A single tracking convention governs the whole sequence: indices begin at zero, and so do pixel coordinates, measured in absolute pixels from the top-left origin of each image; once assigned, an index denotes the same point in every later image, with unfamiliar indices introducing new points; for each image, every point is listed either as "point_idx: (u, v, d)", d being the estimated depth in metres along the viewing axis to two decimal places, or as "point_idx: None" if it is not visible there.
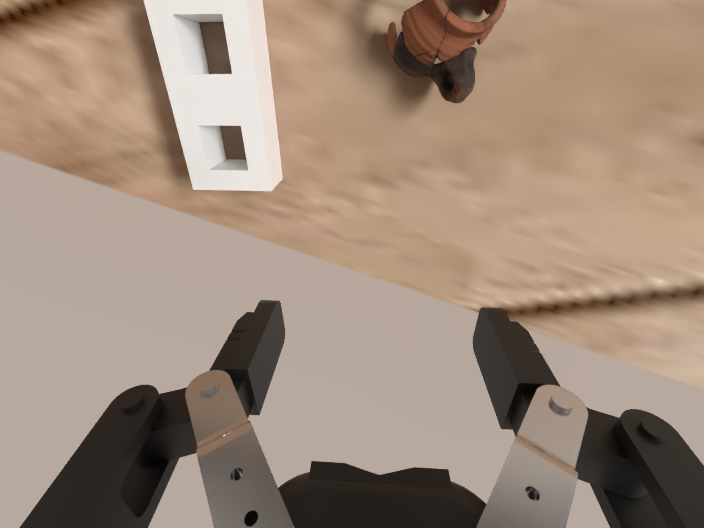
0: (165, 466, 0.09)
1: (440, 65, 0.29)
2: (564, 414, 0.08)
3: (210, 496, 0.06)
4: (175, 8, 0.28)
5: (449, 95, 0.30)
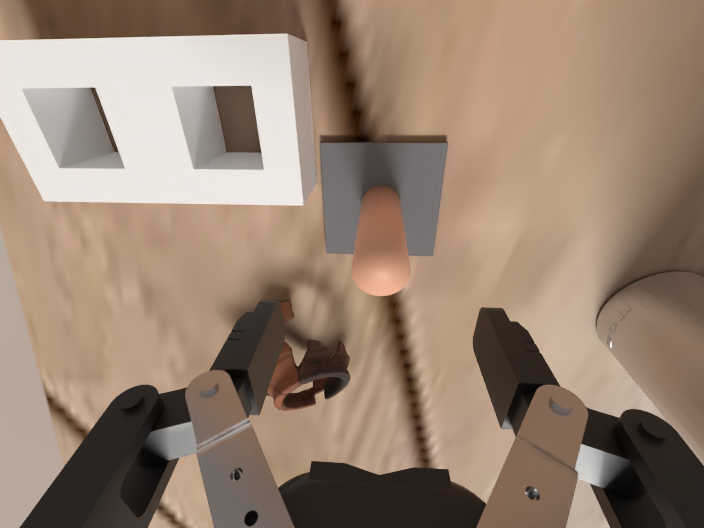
0: (165, 466, 0.09)
1: None
2: (564, 414, 0.08)
3: (210, 496, 0.06)
4: (259, 94, 0.17)
5: None
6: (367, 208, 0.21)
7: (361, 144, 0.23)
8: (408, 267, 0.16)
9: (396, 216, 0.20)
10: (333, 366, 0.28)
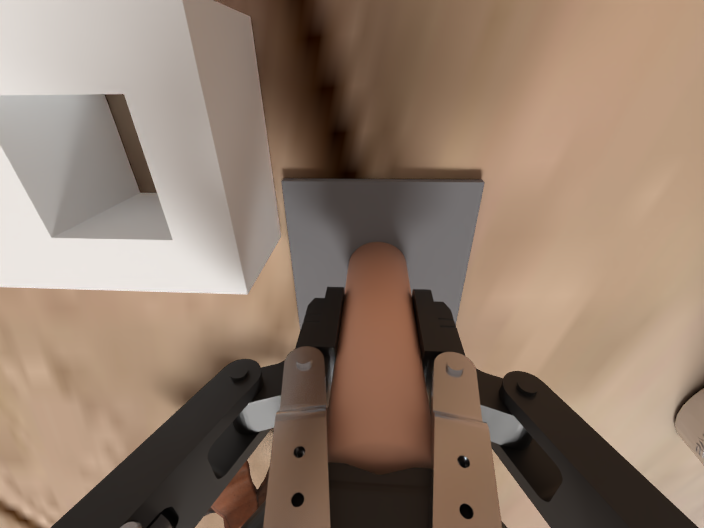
0: (251, 440, 0.10)
1: None
2: (454, 375, 0.09)
3: (273, 460, 0.07)
4: (143, 111, 0.09)
5: None
6: (355, 296, 0.12)
7: (346, 183, 0.14)
8: None
9: (405, 319, 0.11)
10: None
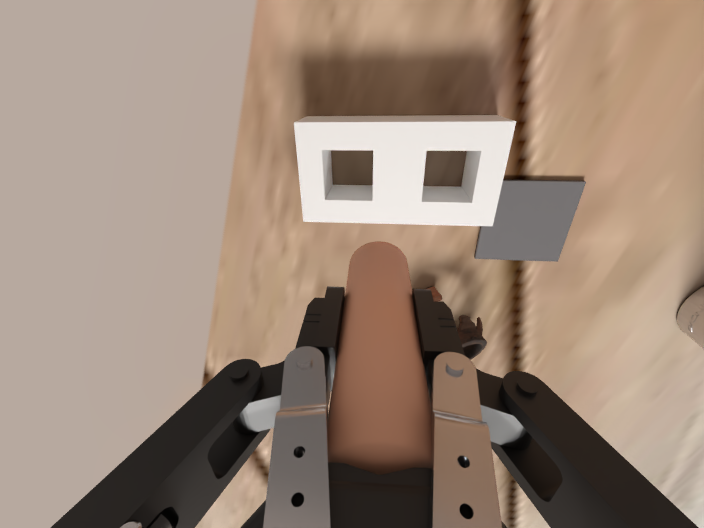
0: (251, 440, 0.10)
1: None
2: (454, 375, 0.09)
3: (273, 460, 0.07)
4: (485, 156, 0.27)
5: None
6: (356, 296, 0.12)
7: (521, 182, 0.32)
8: None
9: (406, 319, 0.11)
10: (479, 335, 0.37)
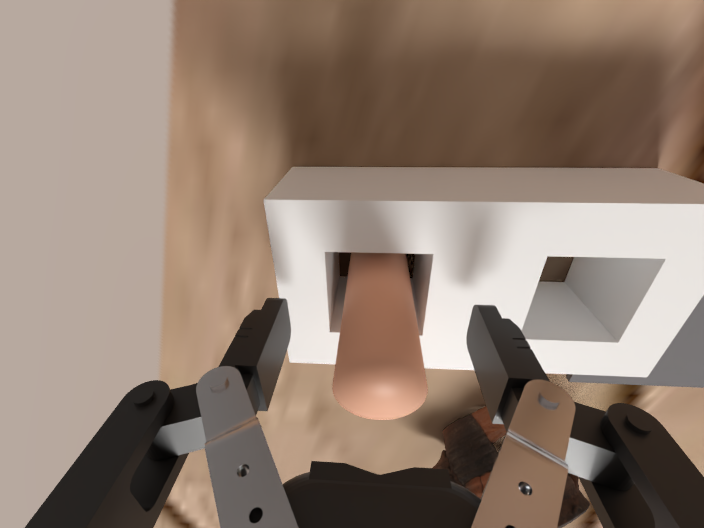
0: (174, 461, 0.09)
1: None
2: (552, 408, 0.08)
3: (217, 491, 0.06)
4: (671, 268, 0.13)
5: None
6: (359, 263, 0.15)
7: None
8: (424, 386, 0.10)
9: (401, 279, 0.13)
10: (580, 499, 0.22)
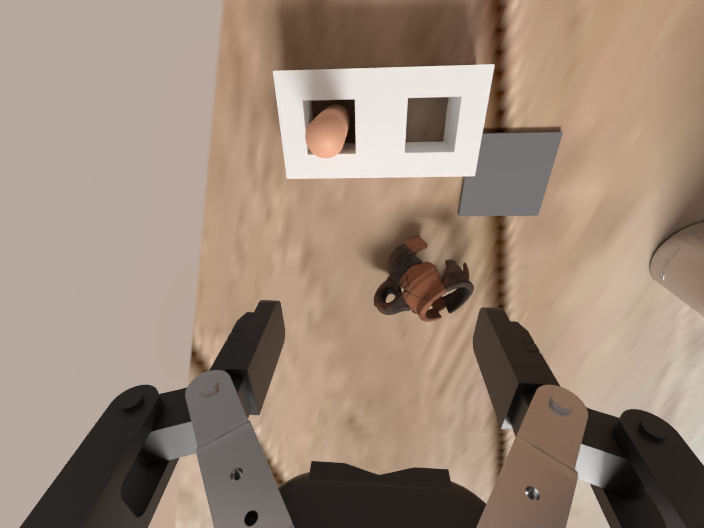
0: (165, 466, 0.09)
1: (399, 289, 0.38)
2: (564, 414, 0.08)
3: (210, 496, 0.06)
4: (465, 102, 0.27)
5: (379, 298, 0.39)
6: None
7: (501, 134, 0.33)
8: (342, 133, 0.24)
9: (340, 113, 0.28)
10: (466, 279, 0.36)
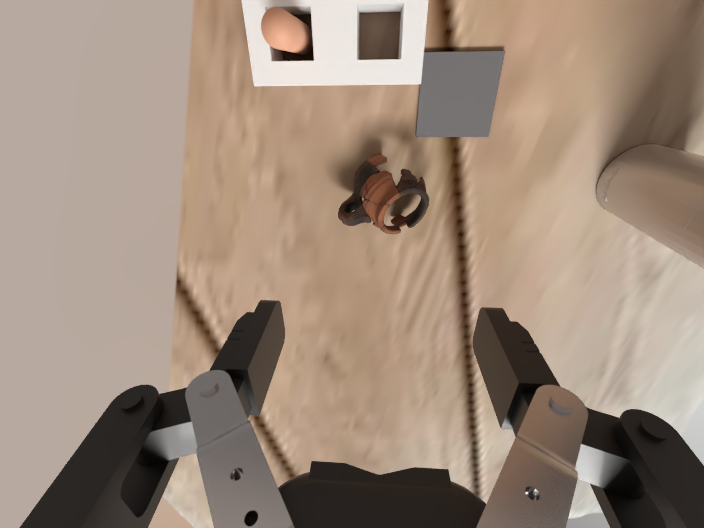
0: (165, 466, 0.09)
1: (360, 201, 0.42)
2: (564, 414, 0.08)
3: (210, 496, 0.06)
4: (408, 8, 0.31)
5: (342, 210, 0.42)
6: None
7: (449, 52, 0.36)
8: (293, 23, 0.28)
9: (297, 18, 0.31)
10: (420, 188, 0.39)
